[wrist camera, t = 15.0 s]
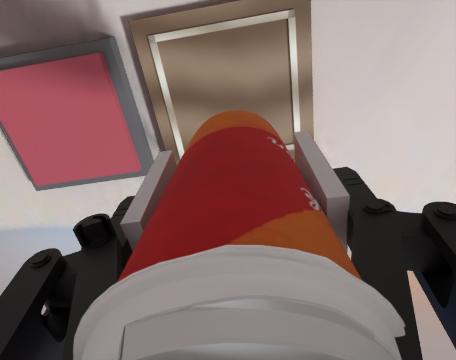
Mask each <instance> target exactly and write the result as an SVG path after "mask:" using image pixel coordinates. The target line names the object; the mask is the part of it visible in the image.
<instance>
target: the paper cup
mask: <svg viewBox="0 0 456 360" xmlns="http://www.w3.org/2000/svg"><path fill="white" fill-rule="evenodd" d="M404 327H405V324H404V322H403V320H402V318H401V317H400V316H399V314H398V313H397V311H396V310H395V309H394V307H393V306H392V304H391V303H390V302H389V301H388V300H387V299H385V298H384V297H383V296H382V295H381V294H380V293H379V292H378V291H377V290H375V289H374V288H373V287H371V286H370V285H368V284H366V283H365V282H363V281H362V279H361V277H360V276H359V274H358V272H357V270H356V269H355V267H354V265H353V263H352V262H351V260H350V258H349V257H348V255H347V253H346V251H345V249H344V248H343V246H342V244H341V242H340V241H339V239H338V237H337V235H336V233H335V232H334V230H333V228H332V226H331V225H330V223H329V221H328V219H327V218H326V216H325V214H324V212H323V211H322V209H321V207H320V205H319V203H318V202H317V200H316V198H315V196H314V195H313V193H312V191H311V189H310V188H309V186H308V184H307V182H306V181H305V179H304V177H303V175H302V174H301V172H300V170H299V168H298V167H297V165H296V163H295V161H294V160H293V158H292V156H291V155H290V153H289V151H288V149H287V148H286V146H285V144H284V143H283V141H282V140H281V138H280V136H279V135H278V133H277V132H276V131H275V129H274V128H273V127H272V126H271V125H270V124H269V123H268V122H267V121H266V120H265V119H263V118H262V117H260V116H258V115H256V114H254V113H251V112H247V111H241V110H232V111H226V112H222V113H219V114H217V115H215V116H213V117H211V118H210V119H208V120H207V121H206V122H204V123H203V124H202V125H201V126H200V127H199V129H198V130H197V132H196V133H195V134H194V136H193V138H192V139H191V141H190V143H189V145H188V147H187V148H186V150H185V152H184V154H183V156H182V158H181V160H180V162H179V163H178V165H177V167H176V169H175V171H174V173H173V175H172V177H171V179H170V181H169V183H168V185H167V186H166V188H165V190H164V192H163V194H162V196H161V198H160V200H159V202H158V204H157V206H156V208H155V210H154V212H153V214H152V216H151V218H150V219H149V221H148V223H147V225H146V227H145V229H144V231H143V233H142V235H141V237H140V239H139V241H138V243H137V245H136V247H135V249H134V251H133V252H132V254H131V256H130V258H129V260H128V262H127V264H126V266H125V268H124V270H123V272H122V274H121V276H120V278H119V280H118V282H117V283H116V284H114V285H112V286H111V287H109V288H108V289H107V290H106V291H105V292H104V293H103V294H101V295H100V296H99V297H98V298H97V299H96V300H95V301H94V302H93V303H92V304H91V306H90V307H89V308H88V310H87V311H86V313H85V314H84V315H83V317H82V319H81V321H80V323H79V326H78V328H77V331H76V333H75V336H74V346H73V355H74V356H73V360H402V359H401V356H400V353H399V350H398V347H397V344H396V341H395V338H394V337H401V336H404V335H405V330H404Z"/></svg>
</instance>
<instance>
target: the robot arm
mask: <svg viewBox="0 0 456 360" xmlns="http://www.w3.org/2000/svg"><path fill="white" fill-rule="evenodd" d="M293 135H294V152H295V163H296V165H297V167H298V168H299V170H300V172H301V174H302V175H303V177H304V179H305V181H306V182H307V184H308V186H309V188H310V189H311V191H312V193H313V195H314V196H315V198H316V200H317V202H318V203H319V205H320V207H321V209H322V211H323V212H324V214H325V216H326V218H327V219H328V221H329V223H330V225H331V226H332V228H333V230H334V232H335V233H336V235H337V237H338V239H339V241H340V242H341V244H342V246H343V248H344V249H345V251H346V253H347V245H348V246H349V248H350V250H351V252H352V255H351V262H352V263H353V265H354V267H355V269H356V270H357V272H358V274H359V276H360V277H361V279H362V281H363V282H365V283H366V284H368V285H370V286H371V287H373V288H374V289H375V290H377V291H378V292H379V293H380V294H381V295H382V296H383V297H384V298H385V299H387V300H388V301H389V302H390V303H391V304H392V306H393V307H394V309H395V310H396V311H397V313H398V314H399V316H400V317H401V318H402V320H403V322H404V324H405V327H404V330H405V335H404V336H401V337H394V338H395V341H396V344H397V347H398V350H399V353H400V356H401V359H402V360H423V359H422V353H421V347H420V342H419V336H418V330H417V325H416V319H415V314H414V308H413V302H412V297H411V291H410V286H409V280H408V274H407V270H409V271H413V272H414V274H415V276H416V278H417V280H418V282H419V283H420V285H421V287H422V289H423V291H424V292H425V294H426V296H427V298H428V300H429V302H430V303H431V305H432V307H433V309H434V311H435V312H436V314H437V316H438V318H439V320H440V321H441V323H442V325H443V327H444V329H445V331H446V332H447V334H448V336H449V338H450V340H451V341H452V343H453V345H454V347H455V349H456V204H454V203H449V202H432V203H429V204H427V205H425V206H424V208H423V211H422V213H409V212H400V211H396V209H395V207H394V205H392V204H391V203H389V202H388V201H385V200H382V199H377V198H376V197H375V195H374V194H373V193H372V191H371V190H370V189H369V188H368V186H367V185H366V184H365V182H364V181H363V180H362V179H361V177H360V176H359V175H358V174H357V172H356V171H354V170H352V169H350V168H348V167H343V168H335V169H332V167H331V166H330V164H329V163H328V161H327V160H326V158H325V157H324V155H323V153H322V152H321V150H320V149H319V147H318V146H317V144H316V143H315V141H314V139H313V138H312V136H311V135H310V133H309V132H308V130H307V131H300V132H293ZM176 167H177V165H176V161H175V158H174V154H173V150H169V151H162V152H159V153H158V155H157V157H156V159H155V161H154V163H153V164H152V166H151V168H150V170H149V172H148V174H147V175H146V177H145V179H144V181H143V183H142V185H141V186H140V188H139V190H138V192H137V194H136V196H130V197H127V198H126V199H124V200H123V201H122V202H121V203H120V204H119V206H118V207H117V209H116V211H115V212H114V214H113V217H111V219H110V218H109V215H106V214H95V215H92V216H89V217H86V218H85V219H83V220H81V221H80V222H79V223H78V224H76V225H75V227H74V229H73V231H74V233H75V235H76V237H77V239H78V241H79V243H80V245H81V247H82V248H81V251H78V252H75V253H72V254H69V255H66V256H62V254H61V252H60V251H59V250H58V249H55V248H54V249H53V248H52V249H46V250H42V251H40V252H39V253H36V254H34V256H32V257H31V258H29V259H28V260H27V261H26V262H25V263H24V264H23V266H22V267H21V268H20V270H19V271H18V272H17V274H16V275H15V277H14V278H13V279H12V281H11V282H10V283H9V285H8V286H7V287H6V289H5V290H4V292H3V293H2V294H1V296H0V360H73V356H74V355H73V346H74V336H75V333H76V331H77V328H78V326H79V323H80V321H81V319H82V317H83V315H84V314H85V313H86V311H87V310H88V308H89V307H90V306H91V304H92V303H93V302H94V301H95V300H96V299H97V298H98V297H99V296H100V295H101V294H103V293H104V292H105V291H106V290H107V289H108V288H109V287H111V286H112V285H114V284H116V283H117V282H118V280H119V278H120V276H121V274H122V272H123V270H124V268H125V266H126V264H127V262H128V260H129V258H130V256H131V254H132V252H133V251H134V249H135V247H136V245H137V243H138V241H139V239H140V237H141V235H142V233H143V231H144V229H145V227H146V225H147V223H148V221H149V219H150V218H151V216H152V214H153V212H154V210H155V208H156V206H157V204H158V202H159V200H160V198H161V196H162V194H163V192H164V190H165V188H166V186H167V185H168V183H169V181H170V179H171V177H172V175H173V173H174V171H175V169H176ZM43 305H45V307H46V308H47V309H46V311H45V313H44V314H43V315H42V314H41V311H42V308H43Z"/></svg>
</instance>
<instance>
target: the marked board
mask: <svg viewBox="0 0 456 360" xmlns="http://www.w3.org/2000/svg"><path fill="white" fill-rule="evenodd" d="M128 22H129V25H130V29H131V32H132V35H133V39H134V42H135V46H136V49H137V53H138V56H139V60H140V63H141V67H142V70H143V74H144V77H145V81H146V84H147V88H148V91H149V95H150V98H151V102H152V105H153V109H154V112H155V115H156V119H157V122H158V126H159V129H160V133H161V136H162V140H163V143H164V147H165V150H166V151H169V150H173V154H174V158H175V161H176V165H178V163H179V162H180V160H181V158H182V156H183V154H184V152H185V150H186V148H187V147H188V145H189V143H190V141H191V139H192V138H193V136H194V134H195V133H196V132H197V130H198V129H199V127H200V126H201V125H202V124H203V123H204V122H206V121H207V120H208V119H210V118H211V117H213V116H215V115H217V114H219V113H222V112H226V111H232V110H241V111H247V112H251V113H254V114H256V115H258V116H260V117H262V118H263V119H265V120H266V121H267V122H268V123H269V124H270V125H271V126H272V127H273V128H274V129H275V131H276V132H277V133H278V135H279V136H280V138H281V140H282V141H283V143H284V144H285V146H286V148H287V149H288V151H289V153H290V155H291V156H292V158H293V160H295V152H294V135H293V132H300V131H307V130H308V132H309V133H310V135H311V136H312V138H313V139H314V132H313V87H312V41H311V0H239V1H234V2H229V3H223V4H218V5H213V6H208V7H202V8H197V9H192V10H186V11H181V12H176V13H170V14H165V15H160V16H155V17H149V18H144V19H139V20H133V21H128Z"/></svg>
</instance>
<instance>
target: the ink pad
mask: <svg viewBox="0 0 456 360" xmlns="http://www.w3.org/2000/svg"><path fill="white" fill-rule="evenodd" d="M0 127H1V128H2V130H3V132H4V134H5V136H6V137H7V139H8V141H9V143H10V145H11V146H12V148H13V150H14V152H15V153H16V155H17V157H18V159H19V161H20V162H21V164H22V166H23V168H24V170H25V171H26V173H27V175H28V177H29V179H30V180H31V182H32V184H33V186H34V187H35V189H36V191H40V190H47V189H54V188H61V187H68V186H75V185H82V184H89V183H96V182H103V181H110V180H117V179H124V178H132V177H139V176H146V175H147V174H148V172H149V170H150V168H151V166H152V164H153V163H154V160H153V157H152V154H151V151H150V148H149V144H148V141H147V138H146V135H145V132H144V128H143V125H142V122H141V119H140V116H139V113H138V109H137V106H136V103H135V100H134V97H133V93H132V90H131V87H130V84H129V81H128V78H127V74H126V71H125V68H124V65H123V62H122V59H121V55H120V52H119V49H118V46H117V43H116V39H115V37H112V38H106V39H101V40H95V41H90V42H85V43H79V44H74V45H68V46H63V47H58V48H52V49H47V50H41V51H36V52H31V53H25V54H20V55H14V56H9V57H3V58H0Z"/></svg>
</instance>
